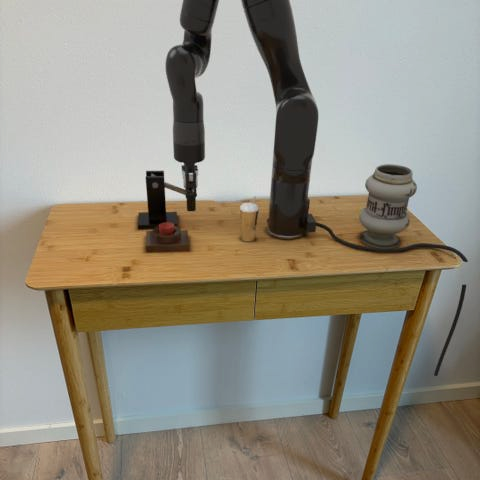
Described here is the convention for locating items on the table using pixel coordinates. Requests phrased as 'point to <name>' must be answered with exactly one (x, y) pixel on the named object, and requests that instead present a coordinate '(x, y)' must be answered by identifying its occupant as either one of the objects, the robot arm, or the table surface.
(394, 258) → the table surface
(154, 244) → the button block
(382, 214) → the apothecary jar
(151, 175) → the switch lever
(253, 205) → the milkshake
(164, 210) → the switch bracket
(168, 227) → the button
